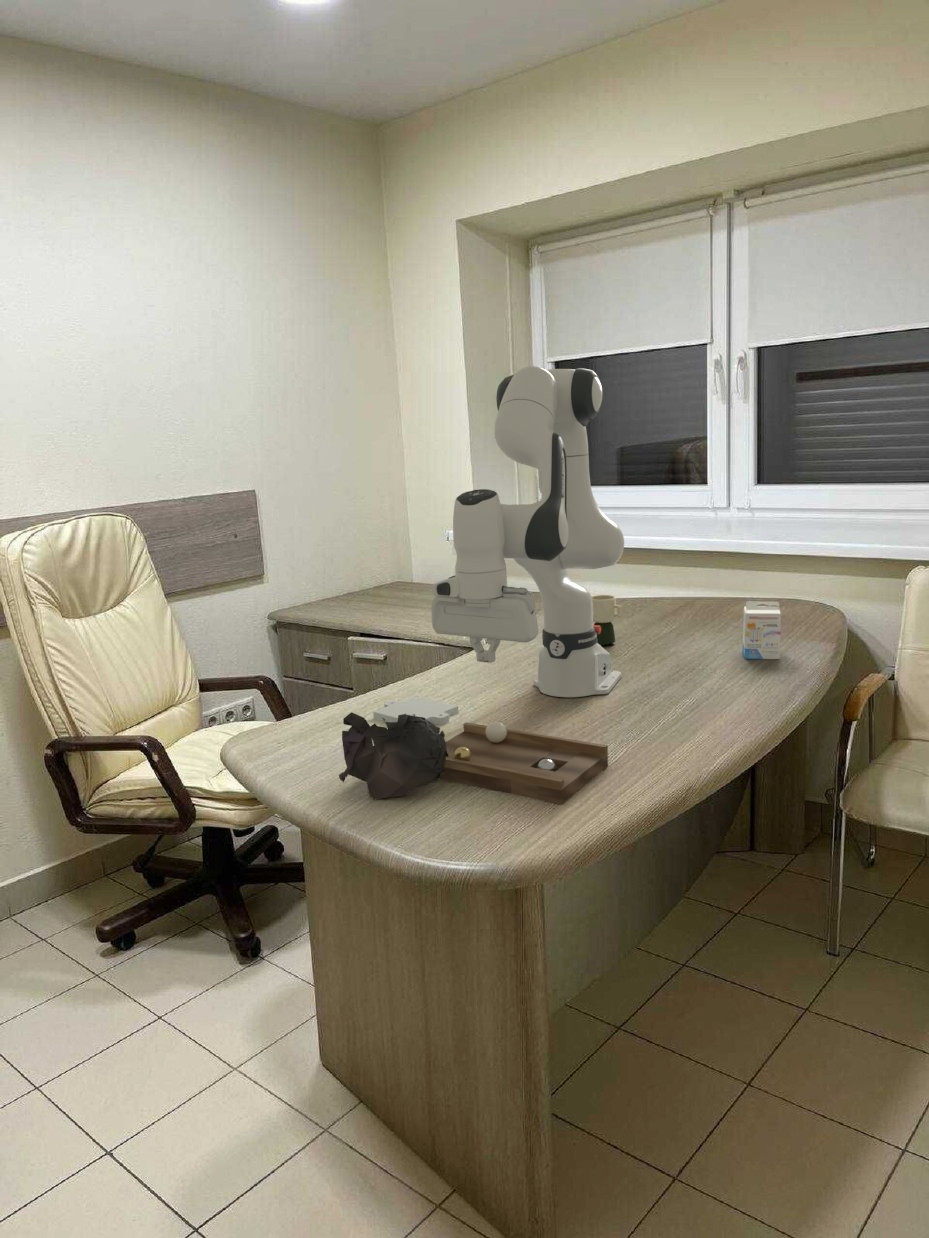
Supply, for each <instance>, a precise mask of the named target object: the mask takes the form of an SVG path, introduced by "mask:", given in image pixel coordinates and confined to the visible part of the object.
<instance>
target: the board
mask: <svg viewBox="0 0 929 1238" xmlns="http://www.w3.org/2000/svg"><path fill="white" fill-rule="evenodd" d="M462 726H463V731H461V732H460V733H459V734H457V735H455V736H453V737H452V738H450V739H448V740H445V742H446V749H447V753H448V756H449V757H447V756H446V760H445V766H444V774H443V775H441V776H440V779H439V780H441V781H446V782H450V783H455V784H461V785H464V786H465V785H466V786H470V787H474V788H475V787H476V788H479V789H484V790H488V791H489V790H490V791H493V792H499V793H504V794H508V795H514V796H517V797H518V796H519V797H524V798H528V799H534V800H538V801H544V802H548V803H552V804H553V803H554V804H558V805H561V806H562V805H563V804H565V802H567V801H568V800H569V799H570V798H571V797H573V796H574V795H575V794H576V793H577V792H579V791H580V790H582V788H584V787H585V786H586V785H588V784H589V783H590V782H591V781H593V779H595V778H596V777H597V776H599V774H601V773H602V772H603V771H605V770H606V769H607V768H608V767H609V760H608V759H609V758H608V757H609V755H608V753H609V751H608V745H607V744H602V743H597V742H596V743H595V742H589V741H582V740H576V739H572V738H571V739H570V738H564V737H560V736H559V737H558V736H552V735H547V734H546V735H545V734H540V733H533V732H527V731H521V730H515V729H509V728H506V730H507V735H506V737H505V739H504V740H503V741H502V742H499V743H493V742H491V741H489V740H488V738H487V737H486V733H485V731H486V728H487V726H488V725H483V724H477V723H471V722H464V723H463V724H462ZM459 747H466V748H468V749H469V750H470V752H471V759H470V760H469V761H464V760H459V759H455V757H454V753H455V751H456V749H457V748H459ZM450 749H451V751H450ZM543 759H550V760H552V761H553V762H554V763H555V765H556V771H555V772H554V771H549V770H544V769H538V768H537V765H538V763H539V762H540V761H541V760H543ZM449 767H450V768H449ZM441 778H442V779H441Z"/></svg>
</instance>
